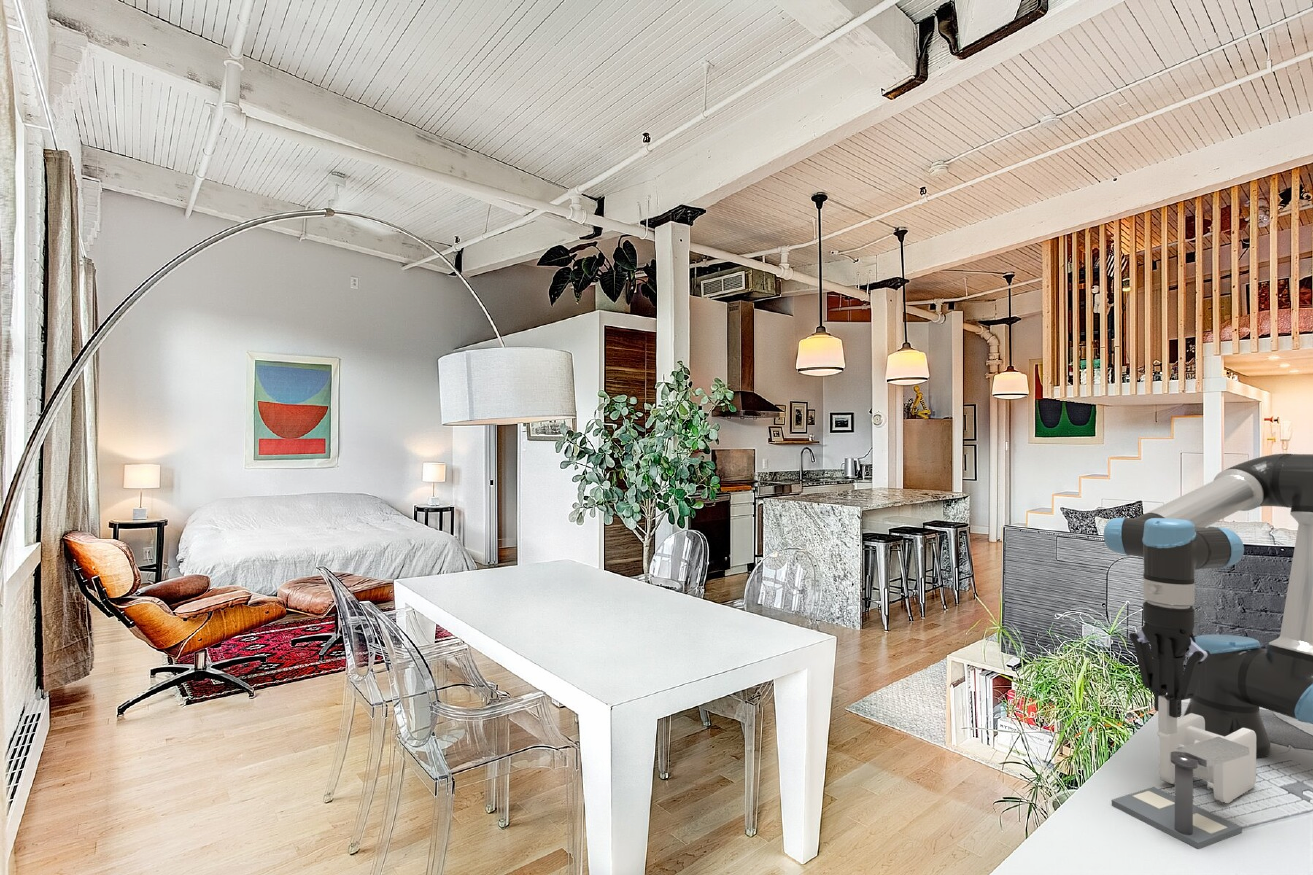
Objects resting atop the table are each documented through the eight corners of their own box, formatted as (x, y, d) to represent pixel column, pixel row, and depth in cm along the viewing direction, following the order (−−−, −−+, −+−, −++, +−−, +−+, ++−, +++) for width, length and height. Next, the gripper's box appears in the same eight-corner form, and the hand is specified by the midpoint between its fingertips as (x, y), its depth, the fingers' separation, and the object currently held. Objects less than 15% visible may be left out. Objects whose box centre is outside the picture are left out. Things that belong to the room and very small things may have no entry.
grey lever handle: (1218, 743, 120) (1218, 736, 120) (1249, 754, 116) (1249, 747, 116) (1162, 759, 114) (1162, 752, 114) (1192, 771, 110) (1192, 764, 110)
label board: (1153, 791, 127) (1154, 728, 127) (1241, 832, 114) (1242, 761, 114) (1111, 805, 122) (1111, 739, 122) (1198, 848, 109) (1198, 775, 109)
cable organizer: (1222, 810, 121) (1222, 746, 121) (1155, 784, 130) (1155, 724, 130) (1257, 789, 128) (1258, 728, 128) (1191, 765, 137) (1192, 708, 137)
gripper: (1118, 596, 128) (1118, 720, 128) (1192, 614, 116) (1191, 750, 116) (1146, 594, 131) (1146, 715, 131) (1221, 610, 118) (1221, 744, 118)
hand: (1167, 731), depth 123 cm, fingers closed
